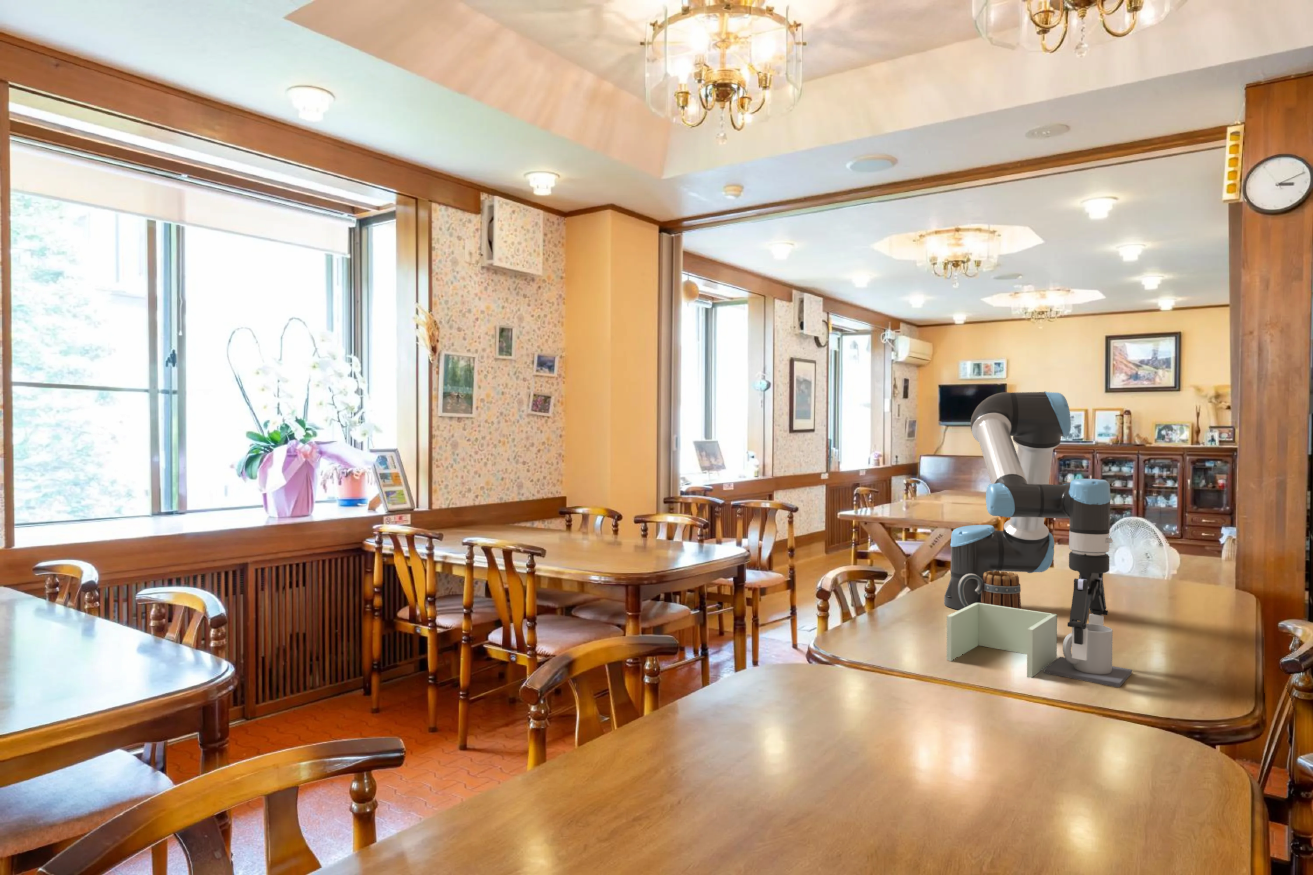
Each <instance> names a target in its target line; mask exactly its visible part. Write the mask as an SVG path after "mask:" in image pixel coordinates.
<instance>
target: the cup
mask: <svg viewBox="0 0 1313 875" xmlns="http://www.w3.org/2000/svg"><path fill="white" fill-rule="evenodd" d="M1086 628H1088V631H1087V660H1080V659H1075V658H1072V632H1070V633H1068V634H1067V635H1066V636H1065V638H1064V639H1063V643H1062V654H1063V657H1065V659H1066V660H1067V661H1068V662H1069V663H1071V664H1073V665H1074V667H1075V669H1077V670H1079V671H1081V672H1085V673H1090V674H1099V675H1103V674H1109V673H1110V672H1111V671H1112V666H1113V632H1114V631H1113V628H1111V627H1109V626H1106V625H1103V626H1102V625H1097V624H1089V623H1087V624H1086Z"/></svg>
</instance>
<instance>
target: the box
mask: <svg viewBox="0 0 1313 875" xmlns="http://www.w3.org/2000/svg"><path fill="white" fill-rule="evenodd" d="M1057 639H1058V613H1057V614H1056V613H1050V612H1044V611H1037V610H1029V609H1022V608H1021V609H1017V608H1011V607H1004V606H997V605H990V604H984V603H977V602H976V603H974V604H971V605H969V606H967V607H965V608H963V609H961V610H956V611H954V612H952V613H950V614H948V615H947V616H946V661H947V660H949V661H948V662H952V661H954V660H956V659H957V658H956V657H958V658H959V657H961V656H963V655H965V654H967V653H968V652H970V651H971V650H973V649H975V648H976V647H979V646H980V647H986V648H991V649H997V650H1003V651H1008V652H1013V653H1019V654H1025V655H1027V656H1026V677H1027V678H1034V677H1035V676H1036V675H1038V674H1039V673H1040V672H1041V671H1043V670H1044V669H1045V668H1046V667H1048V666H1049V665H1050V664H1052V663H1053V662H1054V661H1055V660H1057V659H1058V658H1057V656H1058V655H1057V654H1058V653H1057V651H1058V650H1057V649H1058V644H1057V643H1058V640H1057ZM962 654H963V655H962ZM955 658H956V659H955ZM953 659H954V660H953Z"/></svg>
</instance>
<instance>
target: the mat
mask: <svg viewBox="0 0 1313 875" xmlns="http://www.w3.org/2000/svg"><path fill="white" fill-rule="evenodd" d="M1043 670H1044V672H1043V673H1044V674H1048V675H1053V676H1058V677H1059V676H1060V677H1064V678H1069V679H1074V680H1080V681H1085V682H1089V683H1095V684H1100V685H1104V686H1105V685H1106V686H1108V687H1109V686H1110V687H1115V688H1121V686H1122V685H1123V684H1124V683H1125V682H1126V681H1127V679H1128V678H1130V676H1131V675H1132V674H1133V669H1130V668H1124V667H1119V666H1114V665H1112V671H1111V672H1110V673H1109V674H1103V675H1099V674H1090V673H1085V672H1081V671H1079V670H1077V669H1075V667H1074V665H1073V664H1071V663H1069V662H1068V661H1067V660H1066V659H1065V657H1064V656H1059V657H1058V658H1057V659H1055V660H1054V661H1053V662H1051V663H1050V664H1049V665H1048V666H1046V667H1045V668H1044V669H1043Z"/></svg>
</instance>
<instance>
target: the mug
mask: <svg viewBox="0 0 1313 875" xmlns="http://www.w3.org/2000/svg"><path fill="white" fill-rule="evenodd" d="M968 579H976V580H977V581H978V587H977V589H976V590H975V591H976V592H977V593H978V594H980V593H981V592H982V596H981V603H984V604H990V605H997V606H1004V607H1011V608H1017V609H1022V601H1021V590H1022V588H1021V583H1020V576H1019V575H1018V574H1017V573H1014V572H1008V571H993V572H992V571H987V572H984V574H983V580H982V579H981V578H980V577H979V576H977V575H975V574H966V575H964V576H963V577H962V578H961V579H960V581H959V584H958V593H959V598H960V601H961V603H962V604H963V606H964V607H967V606H969V605H968V604H967V602H966V600H965V596H964V584H965V583H966V581H967V580H968Z"/></svg>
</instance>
